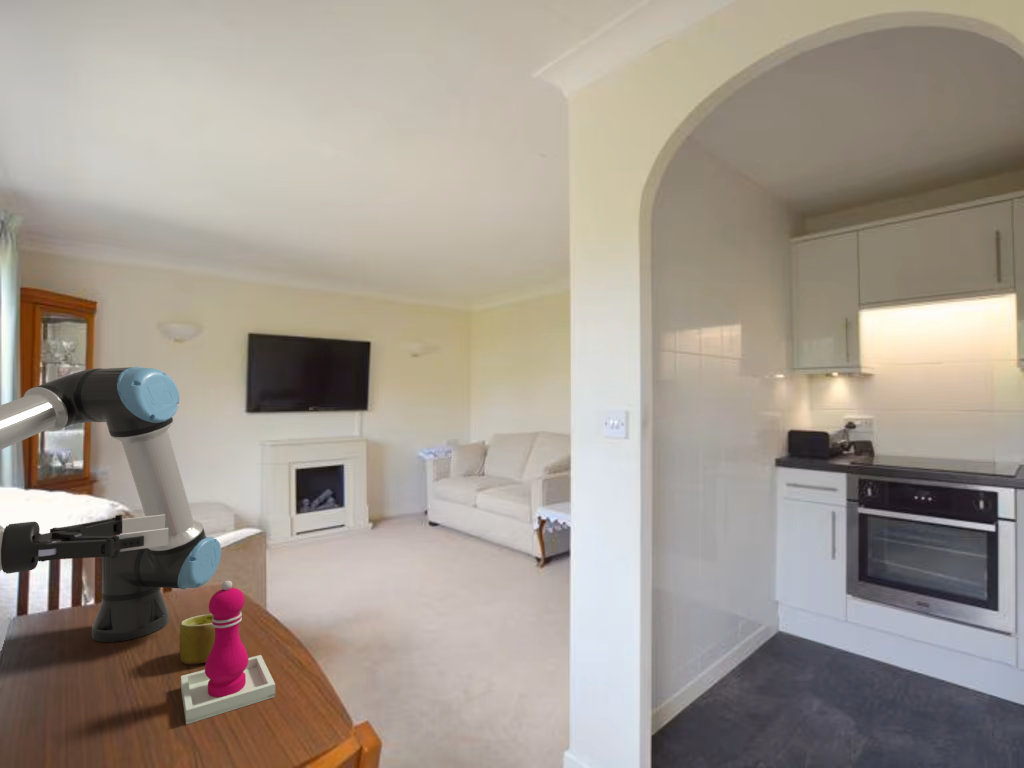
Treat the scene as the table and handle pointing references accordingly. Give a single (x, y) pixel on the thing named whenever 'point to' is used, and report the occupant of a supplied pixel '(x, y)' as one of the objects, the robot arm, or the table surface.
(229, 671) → the pepper mill
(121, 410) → the robot arm
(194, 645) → the mug
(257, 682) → the tray
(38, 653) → the table surface
